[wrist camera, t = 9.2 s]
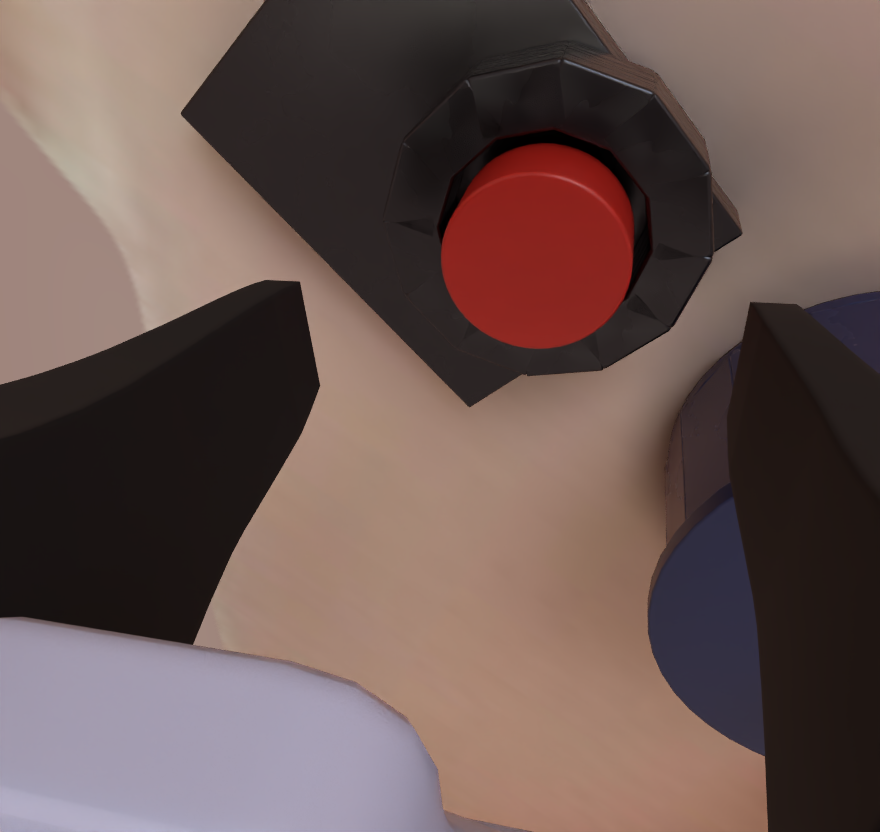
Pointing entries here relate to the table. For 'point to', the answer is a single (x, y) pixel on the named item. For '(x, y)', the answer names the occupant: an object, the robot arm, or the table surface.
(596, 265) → the button
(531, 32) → the control block
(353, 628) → the table surface
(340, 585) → the table surface
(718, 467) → the pot
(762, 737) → the lid
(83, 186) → the table surface
